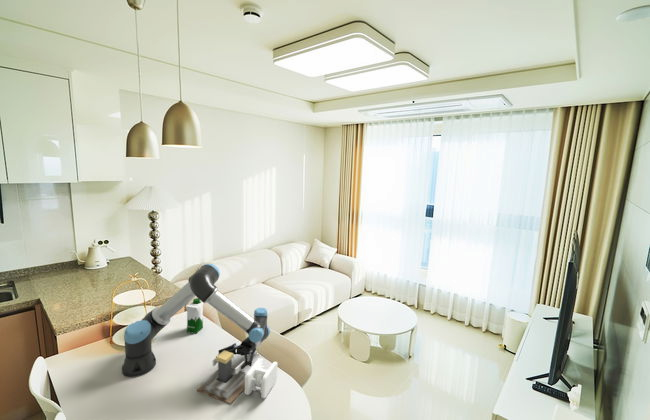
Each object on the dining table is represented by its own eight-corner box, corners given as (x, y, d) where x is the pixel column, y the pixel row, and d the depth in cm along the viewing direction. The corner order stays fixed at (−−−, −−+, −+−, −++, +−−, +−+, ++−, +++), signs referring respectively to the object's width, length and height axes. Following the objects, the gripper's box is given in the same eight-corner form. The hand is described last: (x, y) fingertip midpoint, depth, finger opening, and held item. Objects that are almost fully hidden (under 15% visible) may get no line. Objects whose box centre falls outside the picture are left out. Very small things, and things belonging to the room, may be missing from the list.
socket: (196, 390, 141) (196, 381, 140) (219, 370, 156) (219, 361, 155) (230, 404, 134) (230, 395, 133) (251, 381, 149) (251, 373, 148)
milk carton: (205, 327, 195) (204, 298, 192) (196, 334, 186) (196, 305, 183) (192, 325, 196) (192, 297, 193) (184, 332, 187) (183, 303, 184)
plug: (216, 386, 143) (216, 356, 141) (224, 379, 149) (224, 350, 146) (225, 390, 141) (225, 360, 139) (233, 382, 147) (233, 353, 144)
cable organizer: (263, 403, 136) (264, 380, 134) (243, 397, 139) (243, 375, 137) (277, 381, 150) (278, 360, 149) (258, 376, 153) (259, 355, 151)
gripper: (269, 356, 158) (245, 382, 139) (231, 343, 167) (204, 366, 147) (270, 343, 157) (245, 367, 137) (232, 331, 166) (204, 353, 146)
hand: (224, 367), depth 142 cm, fingers open, 13 cm apart
